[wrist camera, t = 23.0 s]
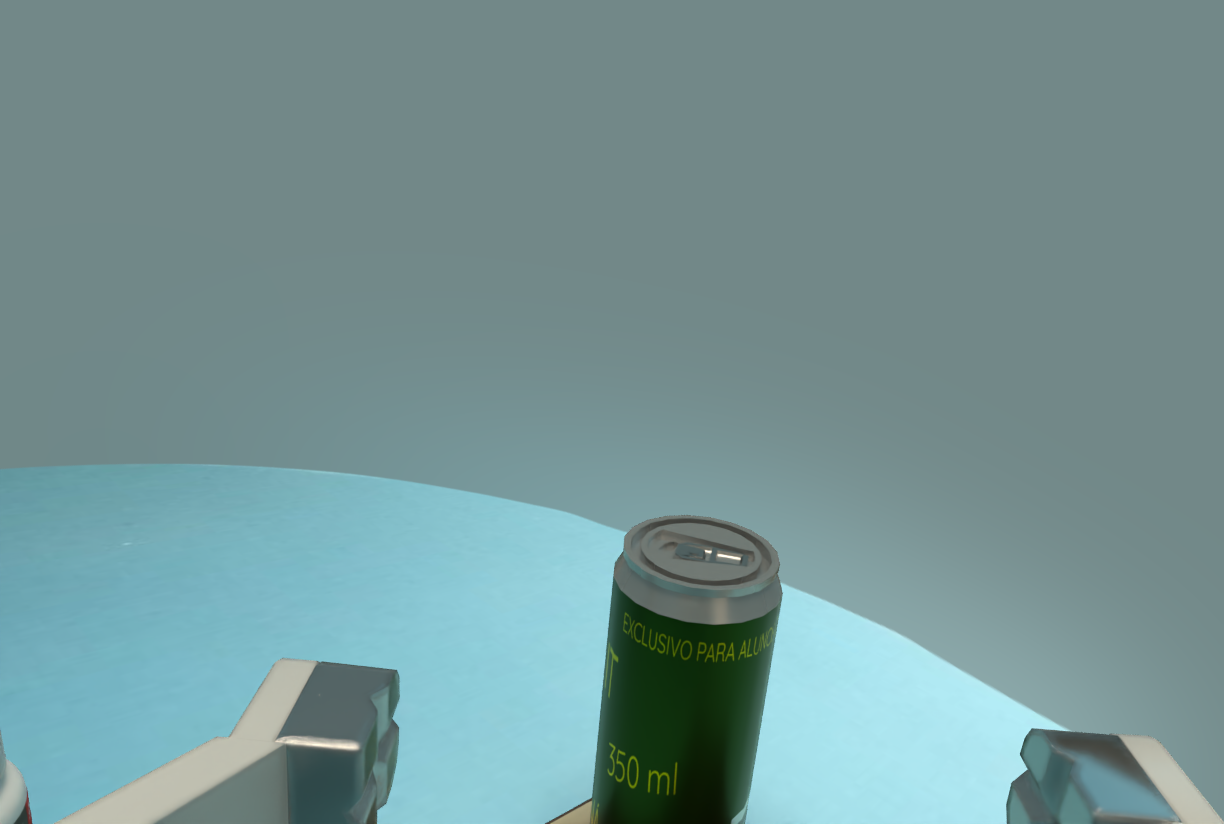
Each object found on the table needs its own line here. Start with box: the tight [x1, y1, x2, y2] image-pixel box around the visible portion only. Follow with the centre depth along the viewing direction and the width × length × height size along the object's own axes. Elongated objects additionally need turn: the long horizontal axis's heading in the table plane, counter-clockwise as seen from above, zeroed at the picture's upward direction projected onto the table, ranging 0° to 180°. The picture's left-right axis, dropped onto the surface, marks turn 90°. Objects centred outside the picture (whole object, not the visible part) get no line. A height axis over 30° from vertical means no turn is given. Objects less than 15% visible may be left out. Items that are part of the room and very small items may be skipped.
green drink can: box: [590, 515, 783, 824], centre depth 32 cm, size 5×5×12 cm
